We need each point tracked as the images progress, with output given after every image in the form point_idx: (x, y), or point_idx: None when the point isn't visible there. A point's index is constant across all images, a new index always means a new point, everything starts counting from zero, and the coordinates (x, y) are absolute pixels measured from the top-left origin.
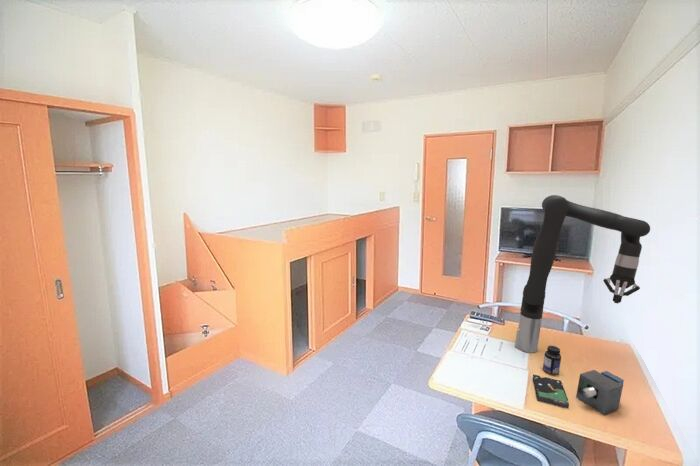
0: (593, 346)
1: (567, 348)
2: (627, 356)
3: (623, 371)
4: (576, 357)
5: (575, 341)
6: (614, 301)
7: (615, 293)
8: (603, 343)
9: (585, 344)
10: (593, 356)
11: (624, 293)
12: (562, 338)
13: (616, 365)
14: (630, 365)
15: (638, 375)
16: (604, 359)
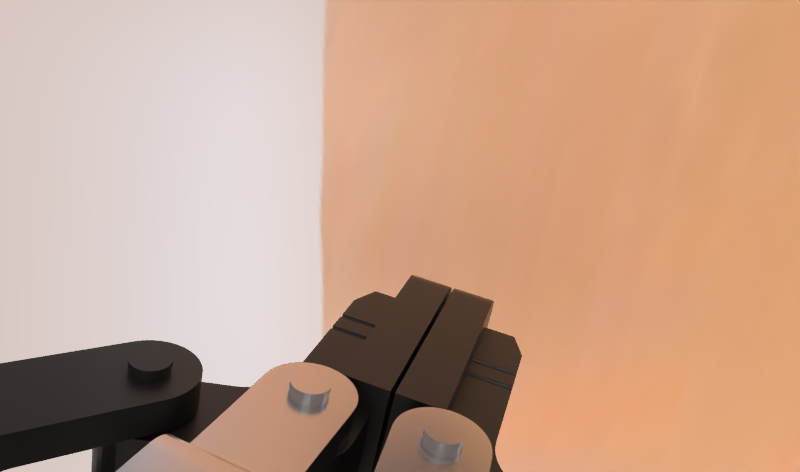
0: (555, 363)
1: (796, 235)
2: (351, 299)
3: (431, 27)
4: (760, 90)
5: (682, 398)
6: (488, 307)
7: (465, 432)
8: None
9: (611, 374)
10: (601, 182)
11: (198, 433)
12: (786, 413)
13: (459, 107)
14: (361, 160)
15: (342, 19)
16: (525, 169)
